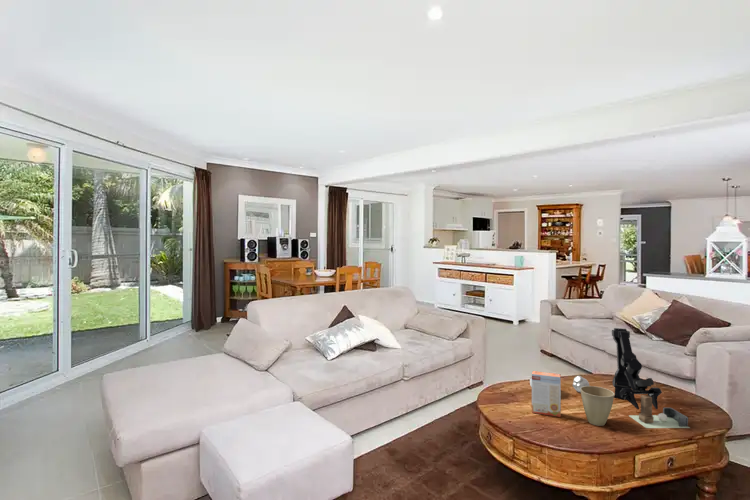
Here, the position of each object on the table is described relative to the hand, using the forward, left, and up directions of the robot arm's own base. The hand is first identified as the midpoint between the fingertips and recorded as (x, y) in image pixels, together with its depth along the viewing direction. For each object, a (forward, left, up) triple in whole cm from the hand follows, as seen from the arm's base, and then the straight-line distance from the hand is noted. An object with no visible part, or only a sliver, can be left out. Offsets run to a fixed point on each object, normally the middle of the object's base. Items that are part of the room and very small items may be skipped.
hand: (647, 409), depth 204 cm
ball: (+5, +6, -5) cm, 10 cm away
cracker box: (-42, -20, -8) cm, 47 cm away
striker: (-1, +1, -7) cm, 7 cm away
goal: (+10, +10, -7) cm, 16 cm away
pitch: (+4, +5, -7) cm, 10 cm away
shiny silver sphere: (-37, +23, -8) cm, 45 cm away
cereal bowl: (-53, +9, -8) cm, 55 cm away
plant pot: (-19, -15, -8) cm, 25 cm away
